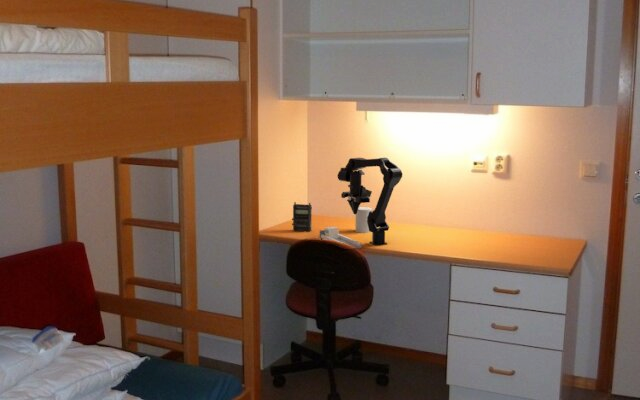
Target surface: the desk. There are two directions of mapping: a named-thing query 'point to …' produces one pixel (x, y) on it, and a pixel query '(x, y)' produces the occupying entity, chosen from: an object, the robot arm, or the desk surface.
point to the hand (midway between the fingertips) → (355, 214)
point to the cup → (362, 219)
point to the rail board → (341, 239)
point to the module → (331, 232)
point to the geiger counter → (301, 217)
